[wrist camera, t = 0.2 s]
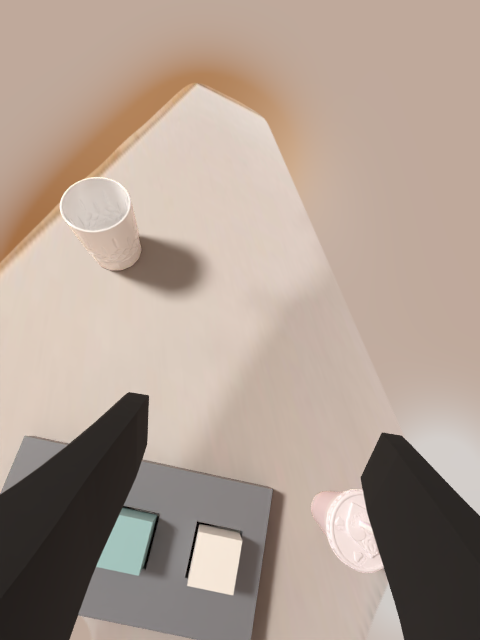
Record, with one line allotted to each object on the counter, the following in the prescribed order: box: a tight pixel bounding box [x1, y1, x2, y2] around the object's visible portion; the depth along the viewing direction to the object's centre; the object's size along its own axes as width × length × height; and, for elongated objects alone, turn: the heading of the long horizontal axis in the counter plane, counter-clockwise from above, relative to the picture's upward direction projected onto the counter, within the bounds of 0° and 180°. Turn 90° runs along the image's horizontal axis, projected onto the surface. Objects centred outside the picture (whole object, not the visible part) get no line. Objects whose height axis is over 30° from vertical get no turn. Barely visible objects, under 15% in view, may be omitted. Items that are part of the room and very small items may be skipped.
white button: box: [187, 524, 242, 595], centre depth 32 cm, size 4×4×3 cm
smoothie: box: [311, 489, 384, 573], centre depth 31 cm, size 6×6×14 cm
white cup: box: [60, 177, 142, 270], centre depth 42 cm, size 8×8×10 cm
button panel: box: [0, 436, 273, 640], centre depth 34 cm, size 14×28×2 cm, turn 78°
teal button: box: [96, 508, 157, 576], centre depth 32 cm, size 4×4×3 cm
